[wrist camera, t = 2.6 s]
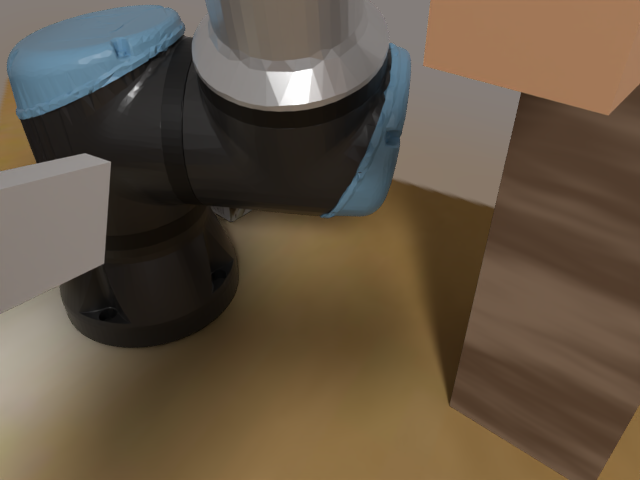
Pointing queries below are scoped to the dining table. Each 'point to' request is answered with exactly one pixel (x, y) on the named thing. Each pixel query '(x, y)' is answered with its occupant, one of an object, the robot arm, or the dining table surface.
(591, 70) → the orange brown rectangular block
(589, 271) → the stand
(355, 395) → the dining table surface
